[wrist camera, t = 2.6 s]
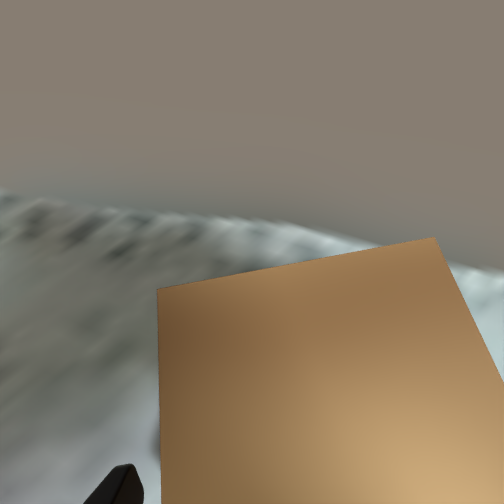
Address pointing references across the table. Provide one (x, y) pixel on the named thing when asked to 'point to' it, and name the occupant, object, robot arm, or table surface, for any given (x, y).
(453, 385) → the oak block
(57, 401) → the table surface
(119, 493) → the robot arm
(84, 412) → the table surface
